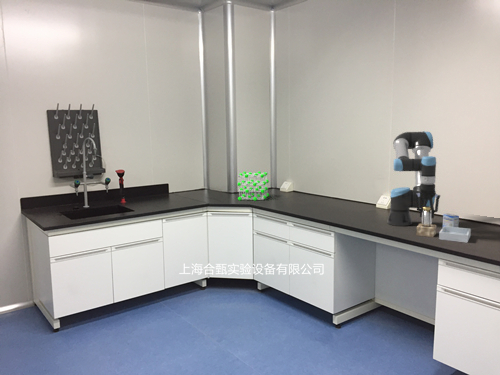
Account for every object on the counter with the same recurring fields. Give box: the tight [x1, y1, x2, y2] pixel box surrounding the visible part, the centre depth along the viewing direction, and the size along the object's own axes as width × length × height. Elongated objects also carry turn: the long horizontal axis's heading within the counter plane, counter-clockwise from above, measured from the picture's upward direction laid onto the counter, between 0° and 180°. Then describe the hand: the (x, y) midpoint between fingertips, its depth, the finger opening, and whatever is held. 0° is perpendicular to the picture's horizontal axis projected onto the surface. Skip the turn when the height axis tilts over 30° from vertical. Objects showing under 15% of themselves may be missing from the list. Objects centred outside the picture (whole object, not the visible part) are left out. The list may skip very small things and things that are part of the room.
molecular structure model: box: [237, 171, 270, 201], centre depth 371 cm, size 24×25×24 cm
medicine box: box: [442, 213, 460, 228], centre depth 245 cm, size 8×4×9 cm, turn 24°
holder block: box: [416, 223, 437, 238], centre depth 234 cm, size 9×9×5 cm
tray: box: [438, 226, 472, 243], centre depth 226 cm, size 14×16×4 cm
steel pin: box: [422, 206, 431, 227], centre depth 233 cm, size 5×5×16 cm
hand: (426, 223), depth 234 cm, fingers closed on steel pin, 3 cm apart
